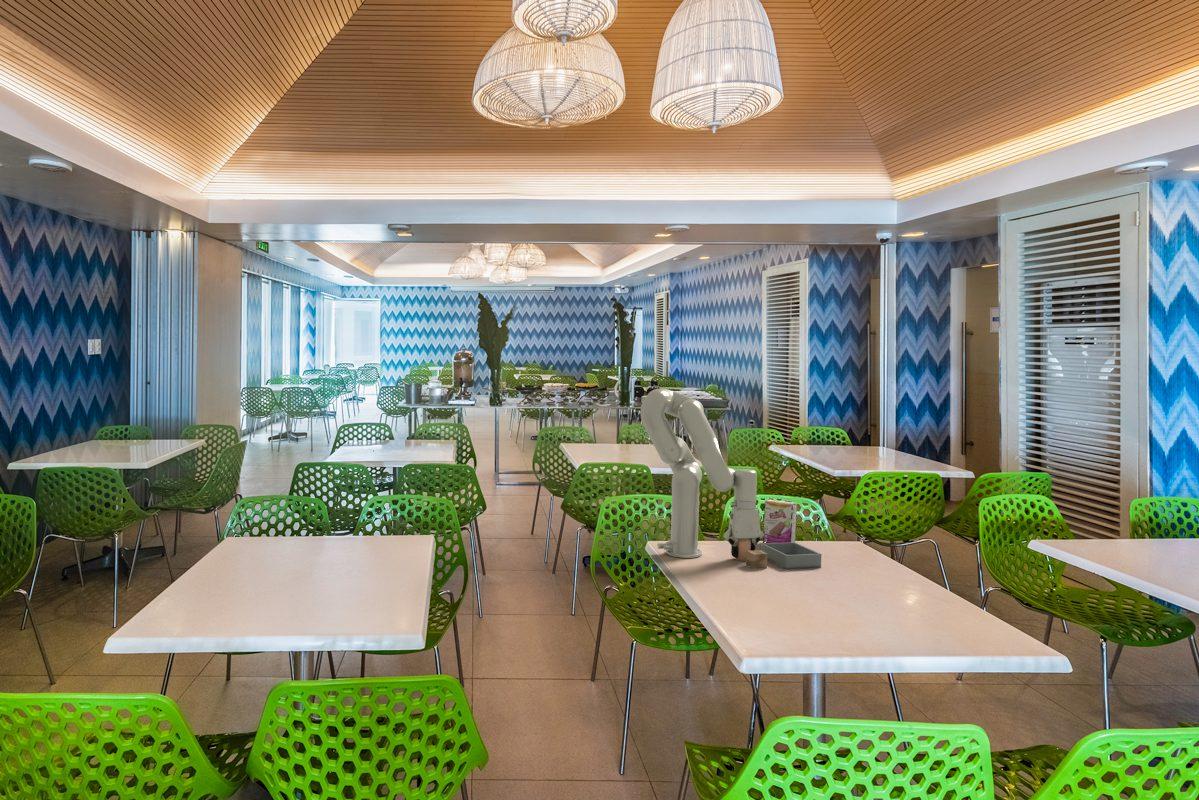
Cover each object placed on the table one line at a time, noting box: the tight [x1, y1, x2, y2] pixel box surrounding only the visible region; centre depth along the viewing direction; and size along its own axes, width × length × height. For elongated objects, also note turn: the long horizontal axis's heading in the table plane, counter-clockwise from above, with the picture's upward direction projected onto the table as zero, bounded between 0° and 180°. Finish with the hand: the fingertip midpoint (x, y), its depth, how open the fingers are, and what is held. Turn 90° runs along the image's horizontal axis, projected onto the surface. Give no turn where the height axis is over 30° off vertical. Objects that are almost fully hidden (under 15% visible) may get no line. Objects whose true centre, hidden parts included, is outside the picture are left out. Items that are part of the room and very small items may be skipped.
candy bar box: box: [762, 499, 798, 543], centre depth 286 cm, size 11×5×16 cm, turn 58°
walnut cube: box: [745, 549, 768, 570], centre depth 253 cm, size 5×5×5 cm
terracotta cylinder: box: [735, 539, 751, 562], centre depth 262 cm, size 5×5×7 cm
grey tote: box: [760, 541, 822, 570], centre depth 261 cm, size 13×17×4 cm
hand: (743, 556), depth 262 cm, fingers open, 5 cm apart
